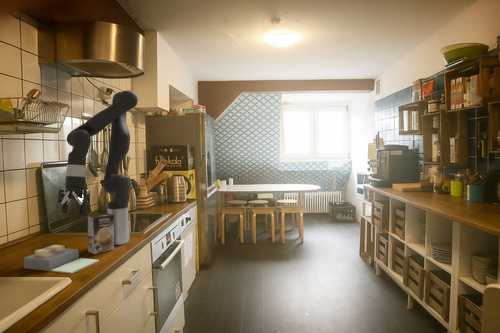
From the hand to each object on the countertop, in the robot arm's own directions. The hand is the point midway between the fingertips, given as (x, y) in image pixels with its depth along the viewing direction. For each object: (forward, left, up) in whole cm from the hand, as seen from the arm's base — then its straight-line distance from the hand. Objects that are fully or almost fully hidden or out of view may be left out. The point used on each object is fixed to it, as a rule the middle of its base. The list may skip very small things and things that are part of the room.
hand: (72, 213), depth 135 cm
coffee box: (-8, +7, -18) cm, 21 cm away
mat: (+11, +12, -18) cm, 24 cm away
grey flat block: (+11, 0, -18) cm, 21 cm away
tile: (+11, -1, -14) cm, 18 cm away
